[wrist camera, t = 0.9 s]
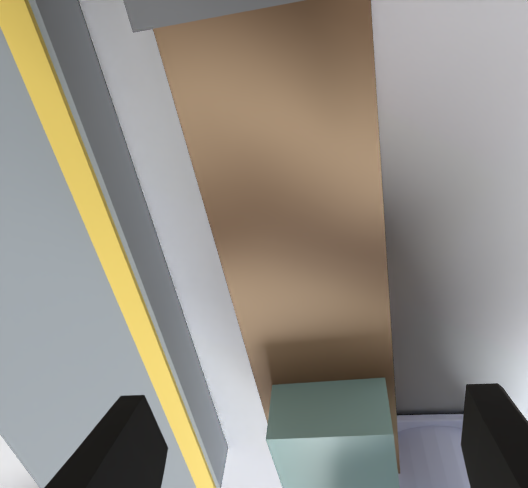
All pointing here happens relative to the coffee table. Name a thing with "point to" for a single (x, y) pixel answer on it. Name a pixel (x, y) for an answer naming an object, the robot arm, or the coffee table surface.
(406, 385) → the coffee table surface
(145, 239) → the dock
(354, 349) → the wooden plank
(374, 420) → the teal square block
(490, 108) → the coffee table surface
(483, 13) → the coffee table surface
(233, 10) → the crate
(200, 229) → the coffee table surface
